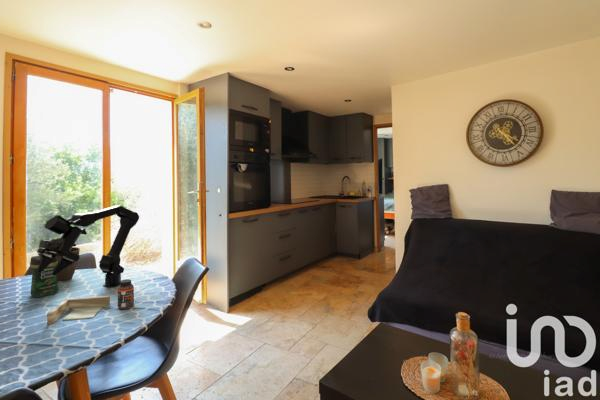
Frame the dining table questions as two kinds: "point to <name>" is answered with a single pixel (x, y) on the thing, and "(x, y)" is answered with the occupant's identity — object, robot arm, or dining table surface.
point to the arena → (78, 308)
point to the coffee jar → (43, 278)
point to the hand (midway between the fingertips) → (45, 273)
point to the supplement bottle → (125, 294)
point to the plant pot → (68, 269)
